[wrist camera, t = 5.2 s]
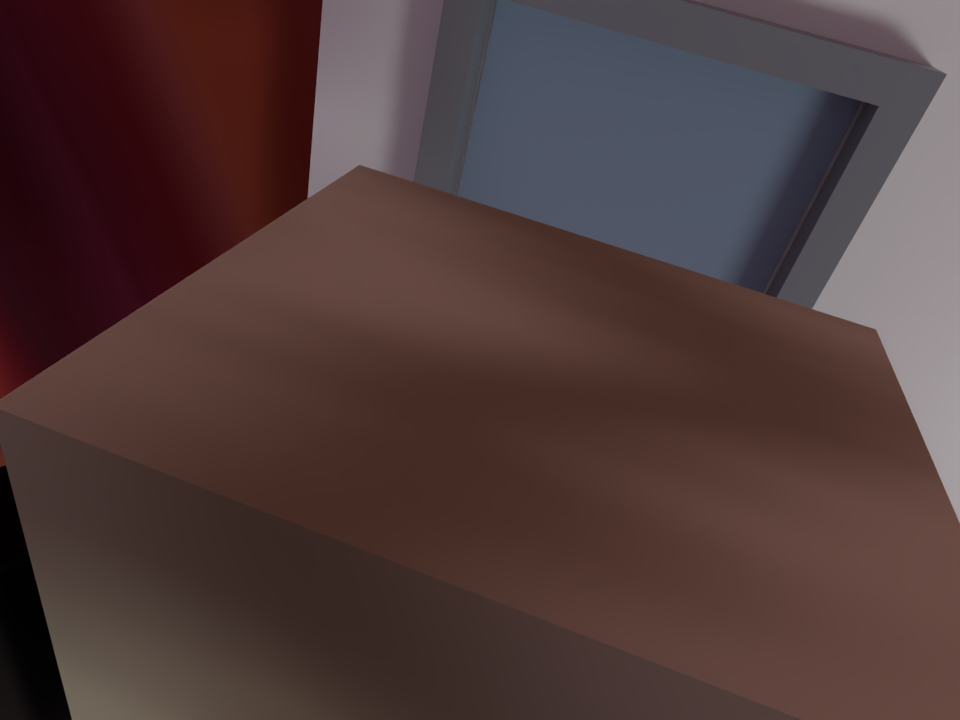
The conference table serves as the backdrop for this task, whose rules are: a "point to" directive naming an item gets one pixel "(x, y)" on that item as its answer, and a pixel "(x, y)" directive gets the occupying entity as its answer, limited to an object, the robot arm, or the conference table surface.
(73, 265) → the conference table surface
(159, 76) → the conference table surface
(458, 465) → the birch block
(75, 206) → the conference table surface
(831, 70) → the grey tray
